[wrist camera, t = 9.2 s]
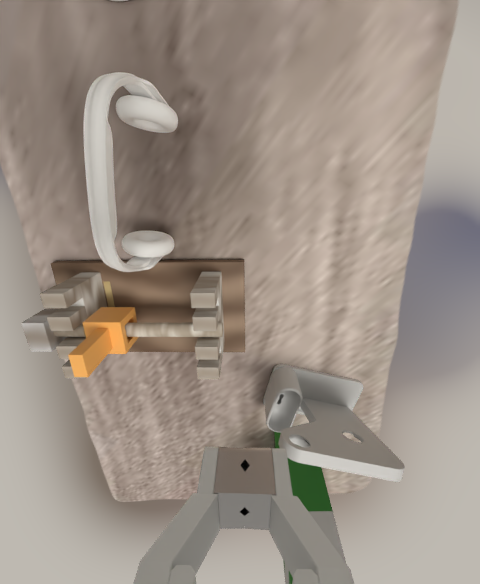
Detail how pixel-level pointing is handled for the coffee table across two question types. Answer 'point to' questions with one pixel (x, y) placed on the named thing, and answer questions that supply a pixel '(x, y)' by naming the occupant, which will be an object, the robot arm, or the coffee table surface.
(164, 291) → the cord comb board
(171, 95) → the coffee table surface
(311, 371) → the phone holder
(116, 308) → the sleeve
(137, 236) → the headset
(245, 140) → the coffee table surface
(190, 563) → the robot arm
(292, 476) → the hardback book
